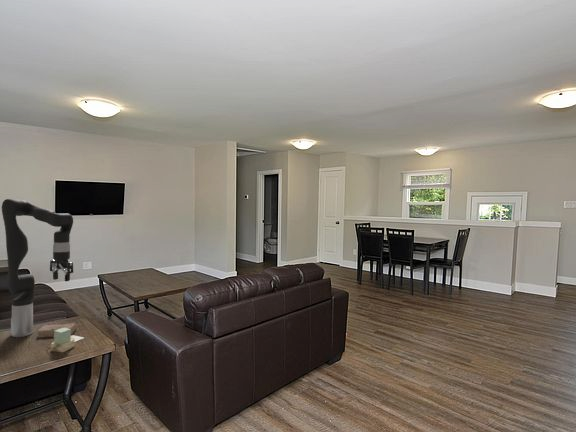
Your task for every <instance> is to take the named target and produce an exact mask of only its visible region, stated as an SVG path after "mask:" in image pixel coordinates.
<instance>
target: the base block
mask: <svg viewBox="0 0 576 432" xmlns="http://www.w3.org/2000/svg"><path fill="white" fill-rule="evenodd" d="M74 347H75V342H74V339H71V341H69V342H66V343H63V344H58V343H54V341H53V342H51V343H50V351H51V352H58V353H65V352H66V351H68V350H70V349H72V348H74Z"/></svg>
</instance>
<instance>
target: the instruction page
mask: <svg viewBox="0 0 576 432" xmlns="http://www.w3.org/2000/svg"><path fill="white" fill-rule="evenodd" d="M71 339H74V343H76V342H78V341H82V340H84V339H85V337H83V336H78V335H74V334H71Z"/></svg>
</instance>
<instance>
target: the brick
mask: <svg viewBox="0 0 576 432" xmlns="http://www.w3.org/2000/svg"><path fill="white" fill-rule="evenodd" d="M64 327H65V328H68V329H71V335H73V334H74V333H75V331H76V330H77V324H76V323H75V322H72V323H63V324H46V325H43V326H41V327H40V328H39V329H38V330H37V336H36V337H37V338H47V337H48V338H50V337H53V338H54V331H55V330H58V329H61V328H64Z"/></svg>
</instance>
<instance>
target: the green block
mask: <svg viewBox="0 0 576 432" xmlns="http://www.w3.org/2000/svg"><path fill="white" fill-rule="evenodd" d="M71 335H72V334H71V329H68V328H65V327H64V328H61V329H58V330H55V331H54V337H53V339H54V340H53V342H54V343H58V344H63V343H66V342H69V341H71Z"/></svg>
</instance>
